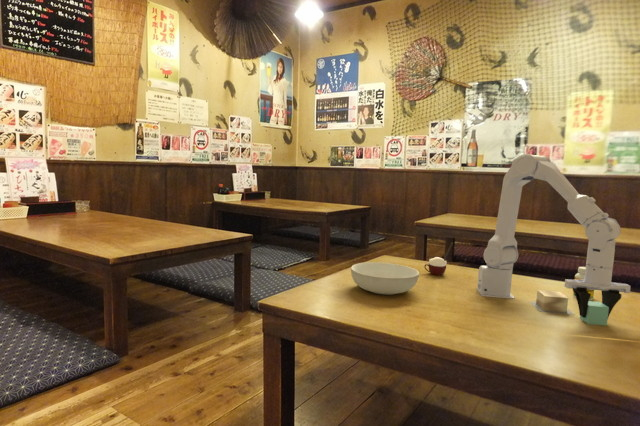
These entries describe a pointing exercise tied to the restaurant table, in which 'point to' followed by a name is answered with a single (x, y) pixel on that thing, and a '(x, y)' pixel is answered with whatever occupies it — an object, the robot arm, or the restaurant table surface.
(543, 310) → the build pad
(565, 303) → the birch block
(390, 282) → the serving bowl
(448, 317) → the restaurant table surface
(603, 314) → the teal cube
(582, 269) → the supplement bottle
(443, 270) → the cocoa
